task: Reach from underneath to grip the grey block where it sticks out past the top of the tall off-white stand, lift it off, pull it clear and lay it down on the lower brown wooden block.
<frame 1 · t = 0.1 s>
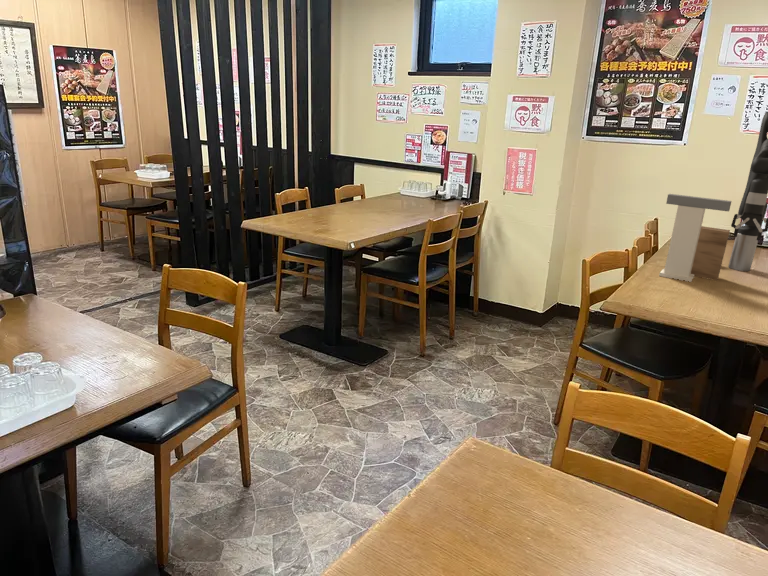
hand: (746, 238, 257), 17 cm above the table, tool pointing down, fingers open, 8 cm apart
grey block: (697, 207, 243), point 32 cm above the table, touching tall stand
brown wooden block: (694, 274, 259), on the table
tall stand: (676, 276, 254), on the table
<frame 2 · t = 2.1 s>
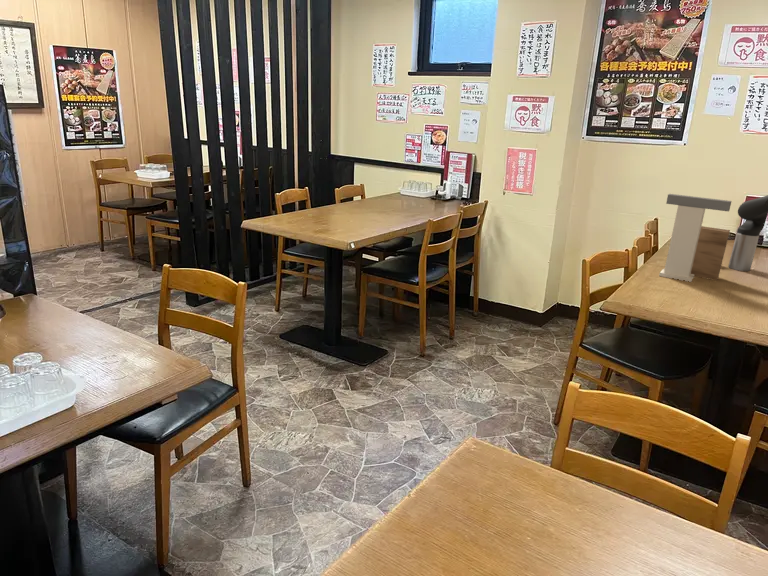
hand: (766, 201, 233), 37 cm above the table, tool pointing upward, fingers open, 8 cm apart
nothing on the table moved.
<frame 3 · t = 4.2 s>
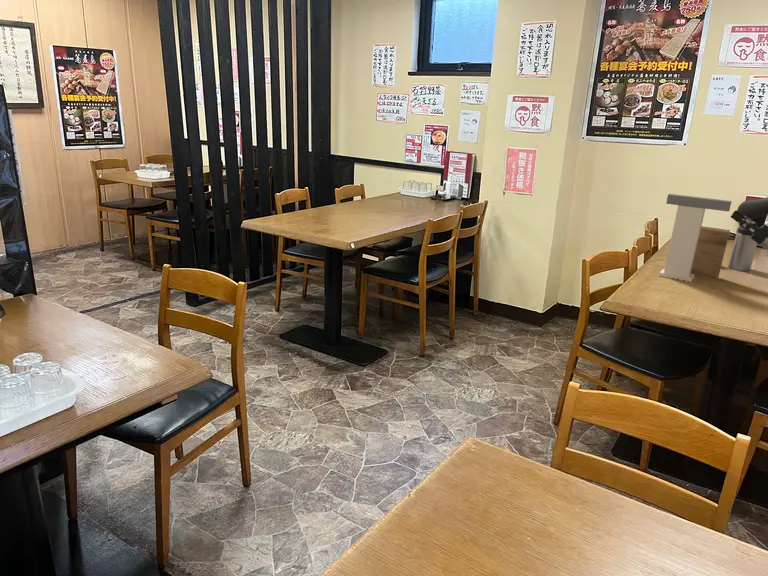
hand: (733, 213, 236), 31 cm above the table, tool pointing upward, fingers open, 8 cm apart
nothing on the table moved.
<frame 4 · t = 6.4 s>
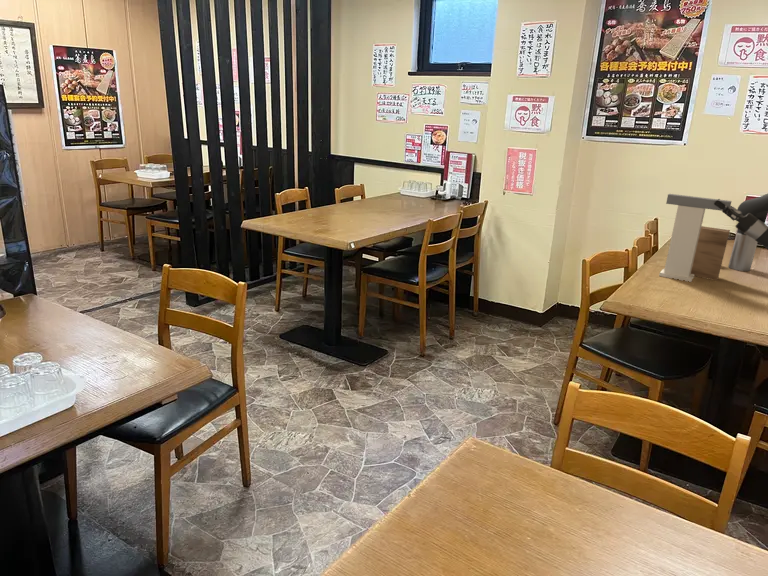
hand: (716, 201, 238), 35 cm above the table, tool pointing upward, fingers closed on grey block, 4 cm apart
grey block: (697, 207, 243), point 32 cm above the table, touching gripper, tall stand
everything else where it was.
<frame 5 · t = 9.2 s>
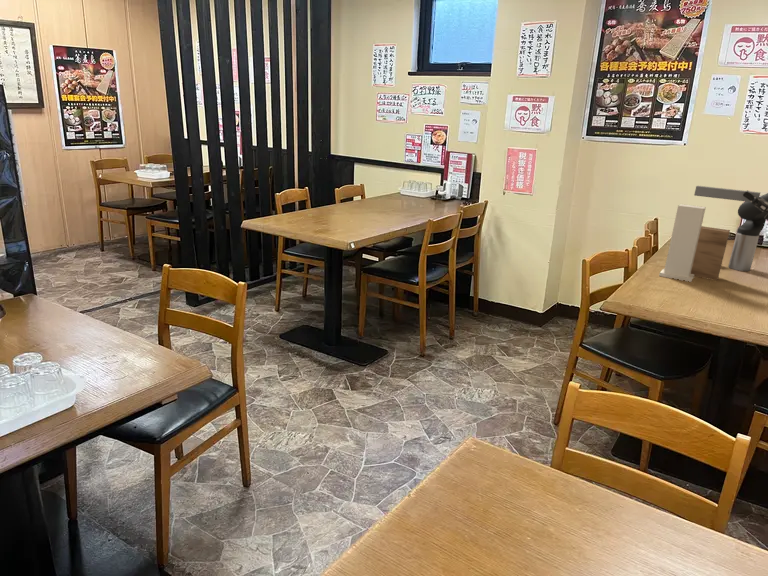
hand: (745, 192, 240), 39 cm above the table, tool pointing upward, fingers closed on grey block, 4 cm apart
grey block: (725, 198, 245), point 36 cm above the table, touching gripper
everything else where it was.
when the fingers open (27 cm above the table, at t = 12.0 s): grey block drops 2 cm, resting on brown wooden block.
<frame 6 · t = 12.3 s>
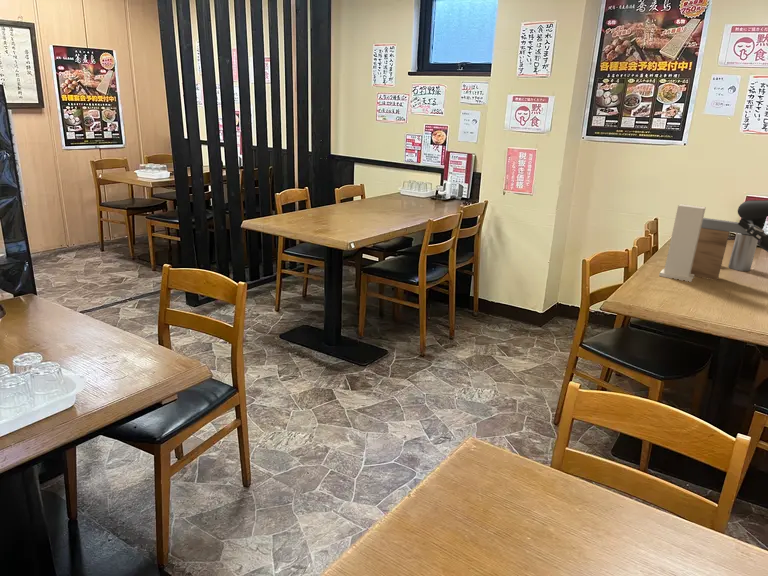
hand: (740, 220, 244), 27 cm above the table, tool pointing upward, fingers open, 6 cm apart
grey block: (719, 229, 249), point 22 cm above the table, touching brown wooden block
everything else where it was.
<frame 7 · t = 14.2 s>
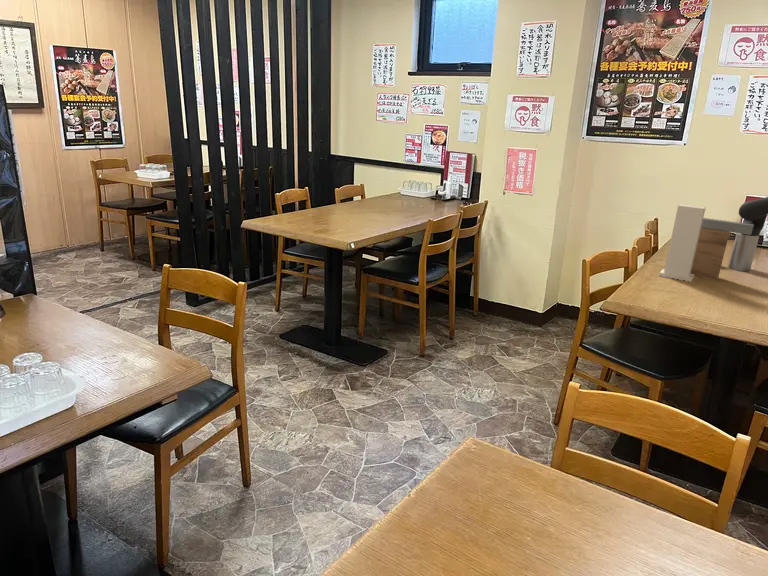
nothing on the table moved.
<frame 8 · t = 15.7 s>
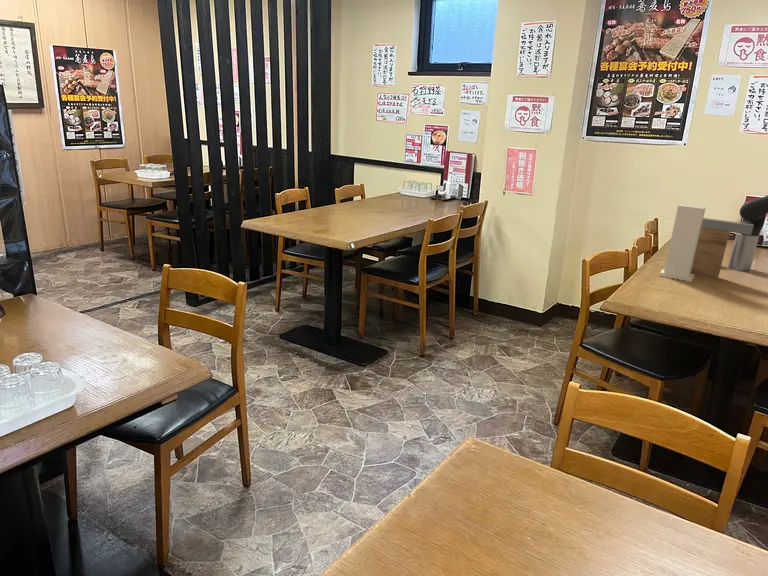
nothing on the table moved.
at the end: grey block inside the target area (0.2 cm from its centre), point 22.0 cm above the table; grey block touching brown wooden block; the gripper is holding nothing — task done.
